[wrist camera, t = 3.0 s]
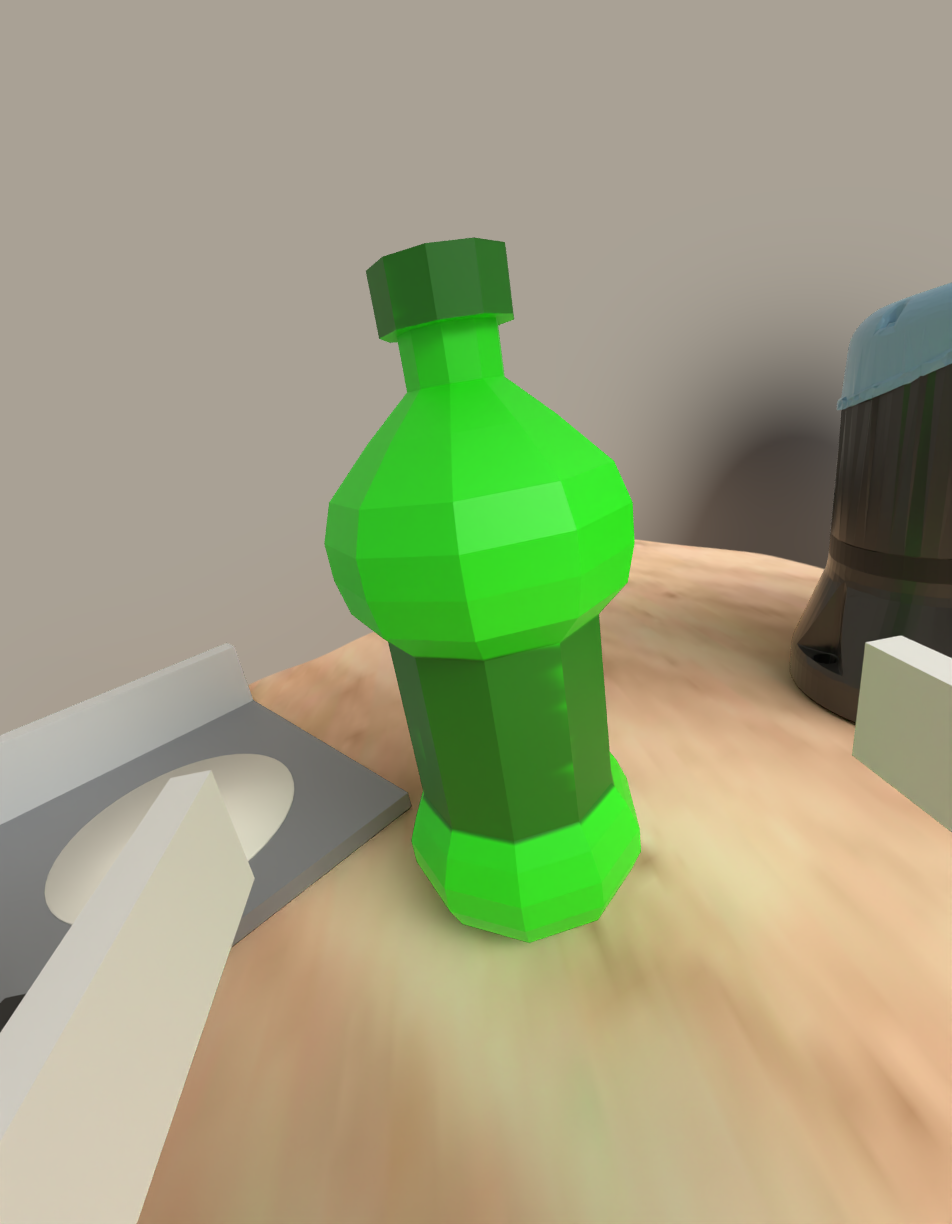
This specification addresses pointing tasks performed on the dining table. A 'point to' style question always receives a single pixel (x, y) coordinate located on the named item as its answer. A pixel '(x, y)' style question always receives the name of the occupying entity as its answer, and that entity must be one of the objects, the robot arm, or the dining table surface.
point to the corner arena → (135, 776)
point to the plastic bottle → (490, 604)
